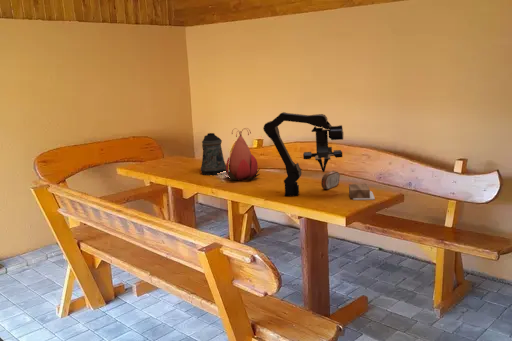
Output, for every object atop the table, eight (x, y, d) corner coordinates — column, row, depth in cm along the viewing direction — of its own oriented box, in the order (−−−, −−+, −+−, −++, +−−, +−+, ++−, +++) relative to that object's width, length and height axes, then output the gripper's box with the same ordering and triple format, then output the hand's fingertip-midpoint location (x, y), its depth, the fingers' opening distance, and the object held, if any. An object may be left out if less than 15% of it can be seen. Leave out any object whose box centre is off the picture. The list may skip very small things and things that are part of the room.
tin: (335, 184, 260) (335, 169, 258) (340, 185, 258) (340, 169, 256) (320, 190, 249) (320, 174, 247) (326, 191, 247) (325, 175, 245)
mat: (353, 200, 228) (353, 198, 228) (351, 192, 241) (351, 191, 241) (374, 199, 226) (374, 198, 226) (371, 192, 240) (371, 191, 240)
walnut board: (350, 190, 228) (369, 190, 227) (349, 184, 240) (367, 184, 238) (350, 198, 229) (369, 198, 227) (349, 192, 240) (367, 191, 239)
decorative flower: (266, 176, 288) (264, 126, 282) (248, 185, 268) (245, 131, 262) (234, 174, 298) (231, 126, 292) (214, 182, 278) (211, 131, 272)
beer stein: (216, 176, 293) (214, 135, 288) (191, 174, 304) (189, 135, 298) (232, 171, 307) (229, 132, 302) (207, 169, 317) (205, 131, 312)
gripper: (302, 144, 226) (304, 176, 229) (342, 141, 224) (344, 174, 227) (302, 140, 237) (304, 171, 240) (340, 138, 235) (342, 169, 238)
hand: (323, 171), depth 236 cm, fingers closed
